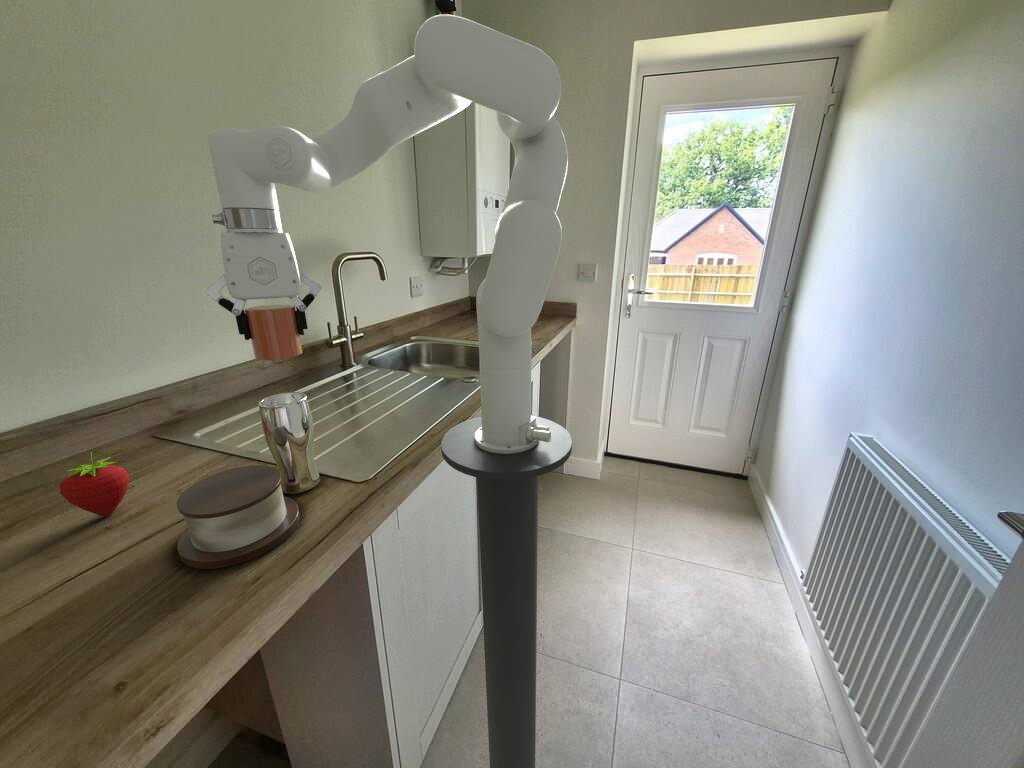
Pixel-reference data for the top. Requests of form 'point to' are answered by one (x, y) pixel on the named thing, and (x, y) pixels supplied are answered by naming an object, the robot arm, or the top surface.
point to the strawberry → (96, 487)
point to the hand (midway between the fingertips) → (275, 335)
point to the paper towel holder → (234, 517)
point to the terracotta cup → (274, 331)
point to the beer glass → (290, 439)
